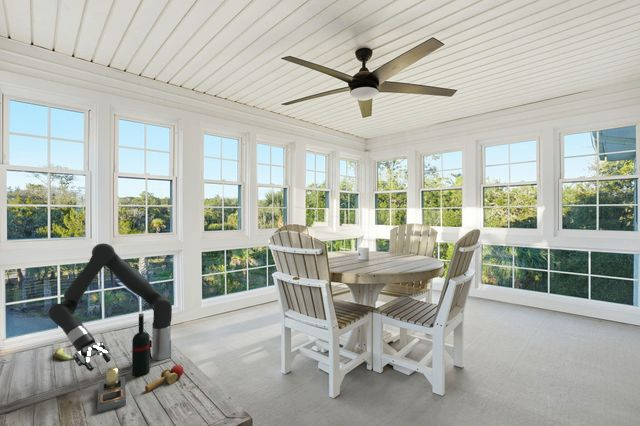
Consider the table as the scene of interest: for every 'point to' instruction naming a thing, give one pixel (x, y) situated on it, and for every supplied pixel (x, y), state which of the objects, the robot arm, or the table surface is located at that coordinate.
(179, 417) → the table surface
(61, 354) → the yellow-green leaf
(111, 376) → the brass peg
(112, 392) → the grey flat frame
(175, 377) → the kendama
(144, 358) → the wine bottle
